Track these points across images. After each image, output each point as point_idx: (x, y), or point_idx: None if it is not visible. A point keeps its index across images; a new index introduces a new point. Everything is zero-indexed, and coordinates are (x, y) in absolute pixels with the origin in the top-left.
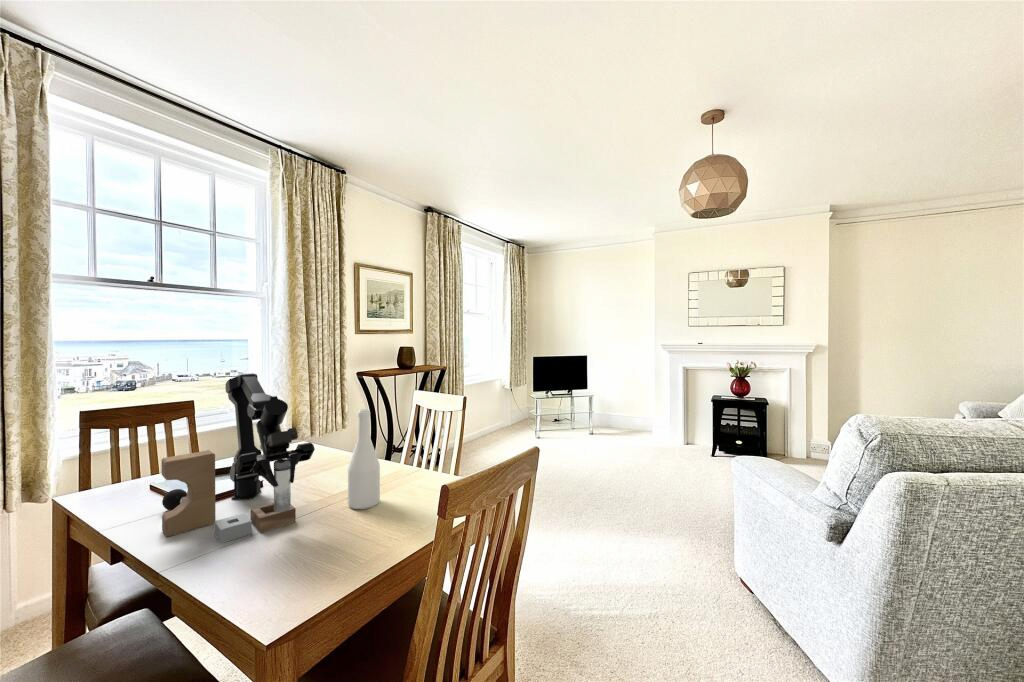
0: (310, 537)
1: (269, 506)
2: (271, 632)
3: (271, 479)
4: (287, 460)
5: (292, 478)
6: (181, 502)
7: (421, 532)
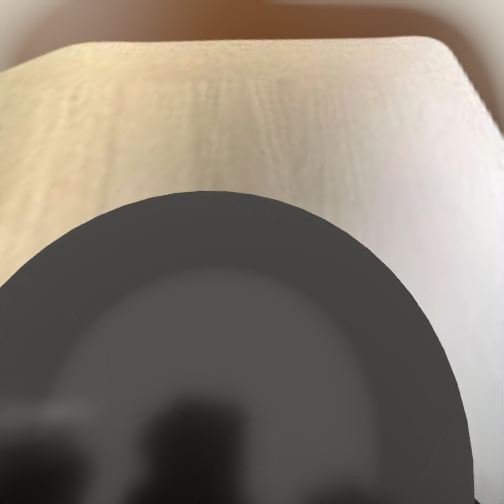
0: None
1: None
2: (432, 47)
3: None
4: (40, 359)
5: None
6: None
7: (12, 77)
